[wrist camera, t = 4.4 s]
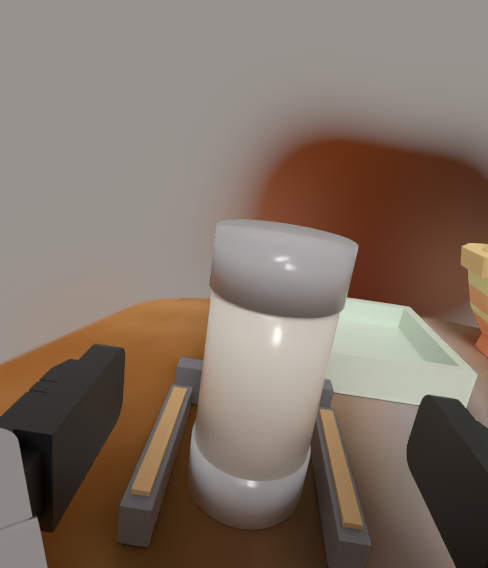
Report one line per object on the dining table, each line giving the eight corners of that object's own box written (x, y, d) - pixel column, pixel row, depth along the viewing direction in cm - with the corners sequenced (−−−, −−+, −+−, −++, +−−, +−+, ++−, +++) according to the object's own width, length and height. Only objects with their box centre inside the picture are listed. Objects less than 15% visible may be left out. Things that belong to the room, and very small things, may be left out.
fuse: (296, 447, 18) (343, 232, 15) (306, 539, 13) (375, 260, 11) (197, 431, 18) (224, 214, 15) (175, 518, 14) (206, 234, 11)
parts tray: (401, 334, 33) (409, 306, 32) (464, 412, 23) (477, 374, 22) (227, 307, 33) (231, 280, 33) (209, 373, 23) (214, 334, 22)
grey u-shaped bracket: (322, 412, 21) (330, 379, 20) (360, 581, 12) (375, 533, 12) (177, 390, 21) (181, 356, 20) (117, 542, 12) (119, 492, 12)
